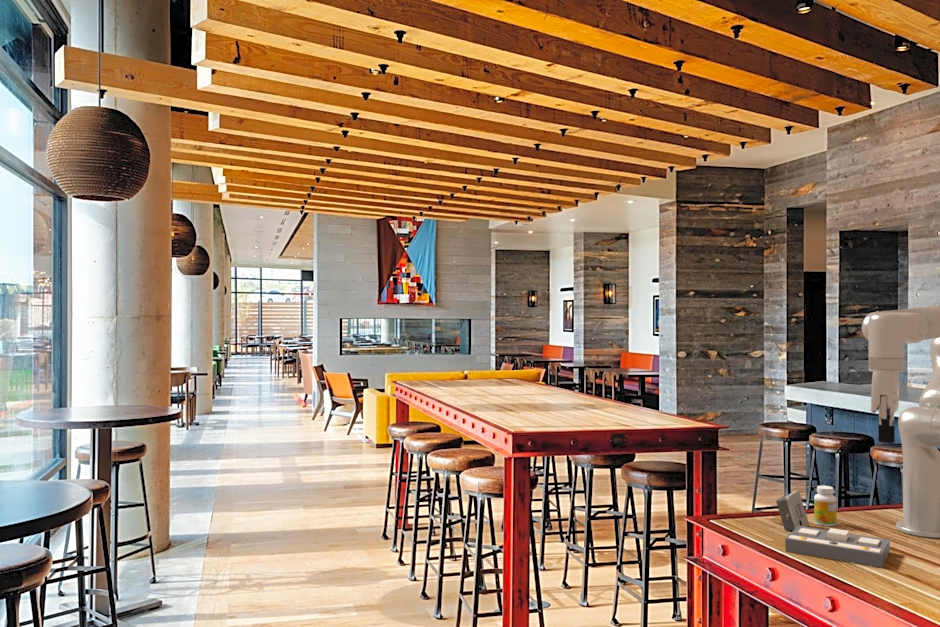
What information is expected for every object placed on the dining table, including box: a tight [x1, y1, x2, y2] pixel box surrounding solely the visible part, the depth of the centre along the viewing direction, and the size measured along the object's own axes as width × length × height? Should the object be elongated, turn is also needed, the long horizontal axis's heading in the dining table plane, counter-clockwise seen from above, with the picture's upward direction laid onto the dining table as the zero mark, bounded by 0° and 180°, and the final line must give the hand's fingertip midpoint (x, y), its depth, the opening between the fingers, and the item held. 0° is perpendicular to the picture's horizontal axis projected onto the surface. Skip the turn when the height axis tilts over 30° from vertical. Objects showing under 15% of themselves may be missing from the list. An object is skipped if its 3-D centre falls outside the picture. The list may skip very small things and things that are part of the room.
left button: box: [798, 528, 819, 537], centre depth 181 cm, size 4×4×2 cm
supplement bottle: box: [813, 485, 838, 527], centre depth 199 cm, size 5×5×10 cm
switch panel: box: [784, 526, 891, 568], centre depth 176 cm, size 13×20×3 cm, turn 54°
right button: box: [858, 537, 880, 547], centre depth 173 cm, size 4×4×2 cm
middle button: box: [827, 527, 850, 542], centre depth 177 cm, size 4×4×2 cm
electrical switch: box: [775, 490, 810, 531], centre depth 196 cm, size 9×5×9 cm, turn 141°
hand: (886, 441), depth 179 cm, fingers closed
